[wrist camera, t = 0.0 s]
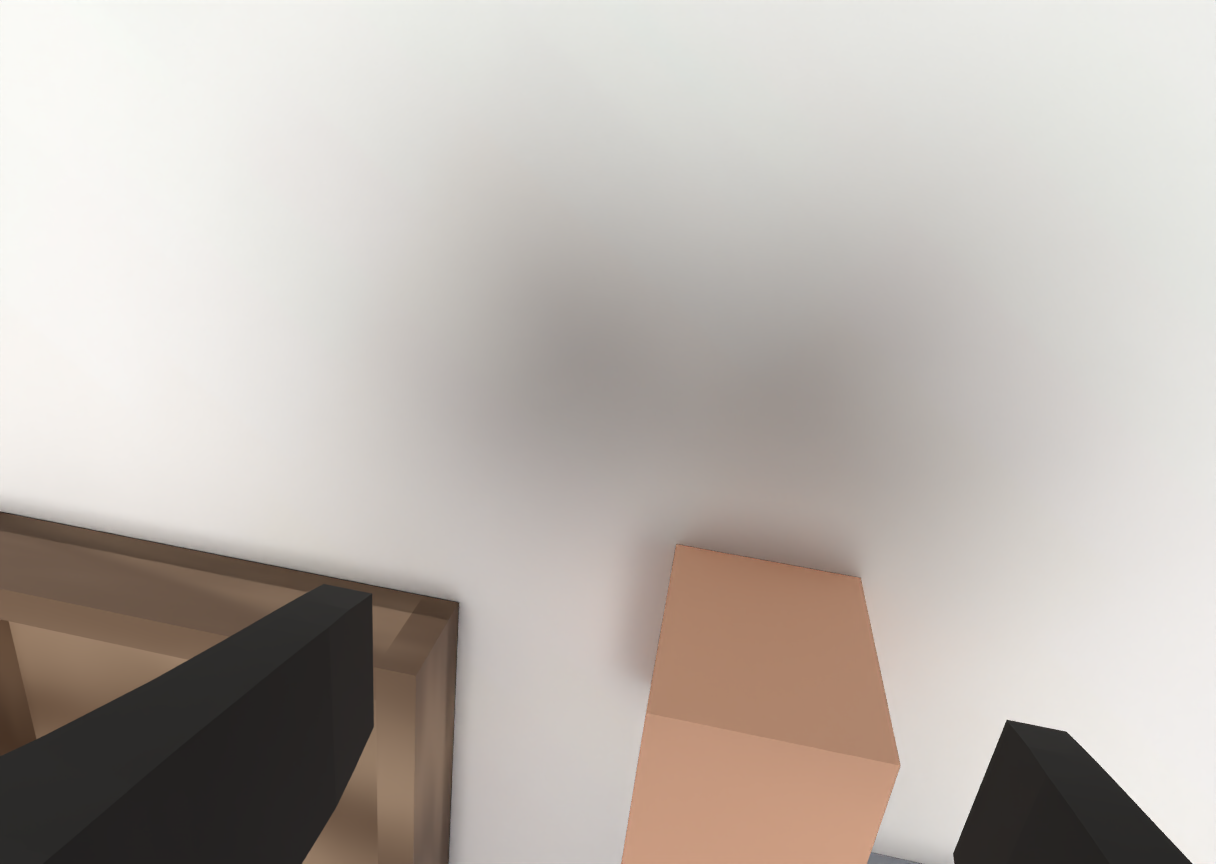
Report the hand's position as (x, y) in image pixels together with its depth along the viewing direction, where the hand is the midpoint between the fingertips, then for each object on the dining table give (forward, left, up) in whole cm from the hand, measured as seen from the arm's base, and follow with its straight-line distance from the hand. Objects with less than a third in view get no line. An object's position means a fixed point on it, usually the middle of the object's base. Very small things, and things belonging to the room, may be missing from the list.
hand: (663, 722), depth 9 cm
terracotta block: (-6, -2, -10) cm, 12 cm away
